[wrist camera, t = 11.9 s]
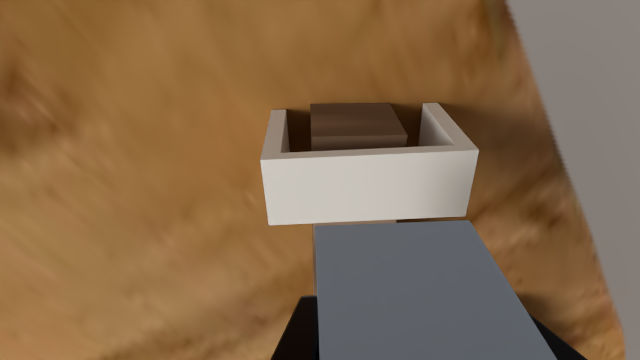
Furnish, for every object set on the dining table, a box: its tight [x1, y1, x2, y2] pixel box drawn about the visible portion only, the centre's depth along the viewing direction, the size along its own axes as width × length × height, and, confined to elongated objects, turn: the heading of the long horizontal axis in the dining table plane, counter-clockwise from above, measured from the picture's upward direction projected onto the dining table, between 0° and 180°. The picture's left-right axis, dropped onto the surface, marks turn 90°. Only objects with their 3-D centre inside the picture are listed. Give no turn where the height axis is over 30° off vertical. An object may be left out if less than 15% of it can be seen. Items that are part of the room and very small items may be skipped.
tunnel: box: [260, 103, 479, 225], centre depth 17 cm, size 3×8×5 cm, turn 92°
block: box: [315, 220, 557, 360], centre depth 9 cm, size 4×4×4 cm
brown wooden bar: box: [310, 103, 407, 296], centre depth 20 cm, size 14×4×4 cm, turn 0°
